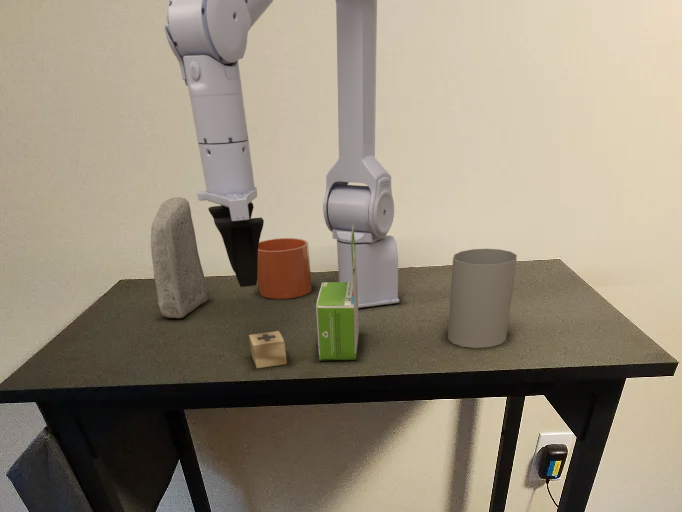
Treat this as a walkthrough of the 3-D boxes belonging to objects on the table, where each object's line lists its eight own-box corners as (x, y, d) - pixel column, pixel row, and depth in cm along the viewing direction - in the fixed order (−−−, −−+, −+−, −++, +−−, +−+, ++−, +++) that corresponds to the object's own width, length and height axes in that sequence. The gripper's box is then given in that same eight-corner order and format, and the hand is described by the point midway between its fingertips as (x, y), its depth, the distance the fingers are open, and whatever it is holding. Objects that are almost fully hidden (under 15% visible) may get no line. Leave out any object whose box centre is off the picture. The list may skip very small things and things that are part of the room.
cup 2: (469, 352, 81) (476, 268, 74) (436, 334, 86) (440, 255, 79) (518, 339, 83) (530, 257, 76) (484, 323, 89) (492, 245, 81)
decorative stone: (188, 321, 95) (162, 207, 84) (154, 320, 96) (124, 207, 85) (213, 300, 102) (193, 193, 91) (181, 299, 103) (158, 193, 92)
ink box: (324, 335, 88) (316, 222, 78) (360, 334, 87) (356, 221, 77) (319, 362, 80) (308, 241, 70) (357, 361, 80) (352, 239, 70)
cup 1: (305, 281, 108) (301, 235, 103) (316, 295, 102) (312, 247, 97) (256, 286, 107) (249, 241, 102) (263, 301, 100) (257, 253, 96)
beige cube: (281, 353, 83) (278, 330, 81) (287, 364, 80) (284, 340, 78) (252, 357, 82) (248, 334, 80) (256, 368, 80) (252, 344, 77)
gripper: (184, 138, 71) (209, 267, 81) (191, 151, 61) (218, 296, 71) (242, 133, 72) (259, 261, 82) (258, 145, 62) (276, 290, 72)
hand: (244, 277), depth 76 cm, fingers open, 7 cm apart
